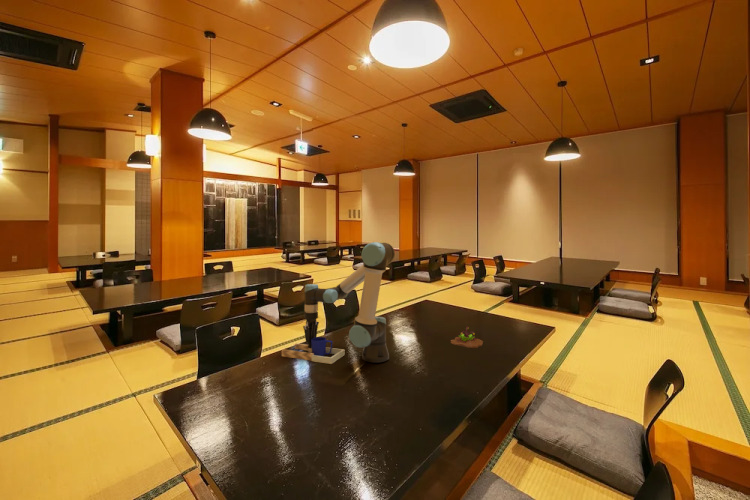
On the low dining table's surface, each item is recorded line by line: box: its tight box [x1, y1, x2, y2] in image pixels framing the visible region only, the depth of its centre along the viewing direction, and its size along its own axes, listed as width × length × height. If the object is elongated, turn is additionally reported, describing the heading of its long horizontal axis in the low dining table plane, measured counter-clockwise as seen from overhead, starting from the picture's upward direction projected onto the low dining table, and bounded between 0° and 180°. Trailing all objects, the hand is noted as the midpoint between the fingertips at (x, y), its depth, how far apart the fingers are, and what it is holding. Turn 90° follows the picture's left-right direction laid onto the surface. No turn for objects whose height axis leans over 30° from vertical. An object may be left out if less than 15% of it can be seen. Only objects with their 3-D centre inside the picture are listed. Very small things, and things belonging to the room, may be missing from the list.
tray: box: [311, 346, 346, 365], centre depth 179 cm, size 12×16×3 cm
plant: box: [450, 326, 484, 349], centre depth 206 cm, size 20×20×11 cm
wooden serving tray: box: [281, 343, 314, 361], centre depth 184 cm, size 20×14×4 cm
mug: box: [311, 336, 333, 357], centre depth 180 cm, size 8×12×10 cm
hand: (311, 353), depth 183 cm, fingers closed, pressing on mug
